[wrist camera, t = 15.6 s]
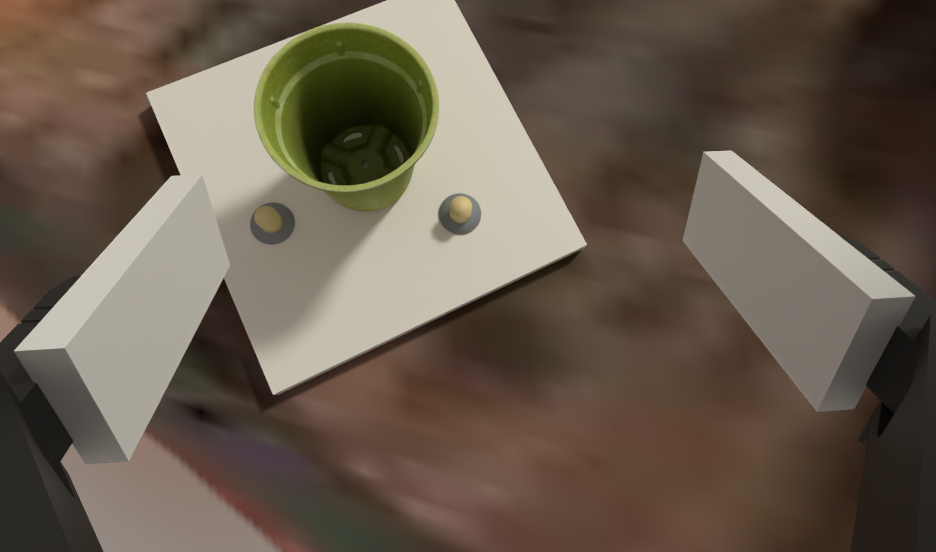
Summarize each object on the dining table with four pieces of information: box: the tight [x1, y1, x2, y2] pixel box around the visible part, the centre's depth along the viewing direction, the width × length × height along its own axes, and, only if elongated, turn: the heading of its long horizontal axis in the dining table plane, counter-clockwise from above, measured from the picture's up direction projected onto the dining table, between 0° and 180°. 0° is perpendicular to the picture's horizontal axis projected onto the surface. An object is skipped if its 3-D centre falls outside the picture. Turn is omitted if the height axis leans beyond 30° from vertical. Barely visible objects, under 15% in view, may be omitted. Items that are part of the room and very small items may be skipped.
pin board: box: [146, 0, 587, 395], centre depth 37 cm, size 22×22×3 cm
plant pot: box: [254, 23, 439, 211], centre depth 32 cm, size 9×9×9 cm
